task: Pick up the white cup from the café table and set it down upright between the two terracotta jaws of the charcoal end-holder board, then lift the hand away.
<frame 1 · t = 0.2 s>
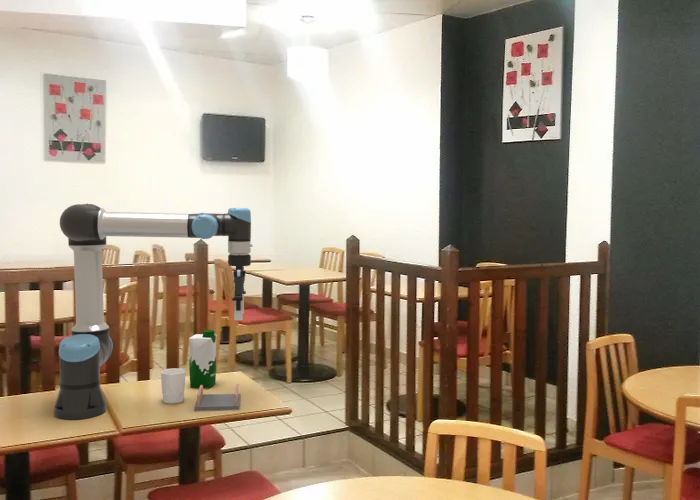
hand: (239, 316, 229), 27 cm above the table, fingers open, 13 cm apart
milk carton: (202, 386, 244), on the table
end holder: (218, 403, 223), on the table
white cup: (173, 401, 226), on the table
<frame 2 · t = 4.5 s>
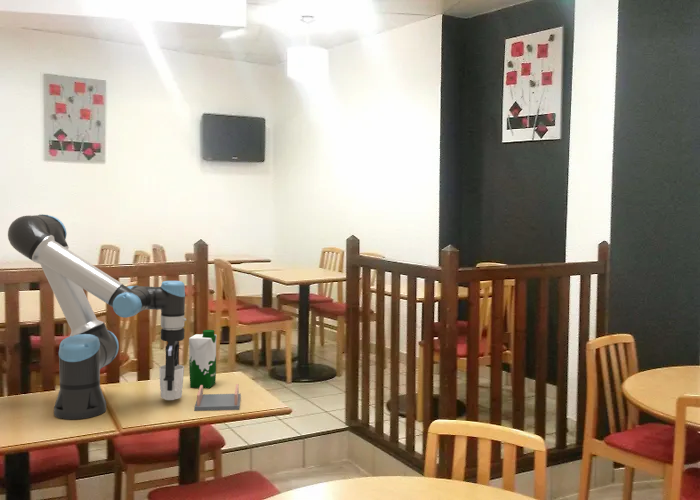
hand: (171, 395, 225), 2 cm above the table, fingers closed on white cup, 7 cm apart
white cup: (171, 397, 225), point 1 cm above the table, touching gripper
everything else where it was.
when the fingers open (2 cm above the table, at t = 8.5 s): white cup stays where it is, resting on end holder.
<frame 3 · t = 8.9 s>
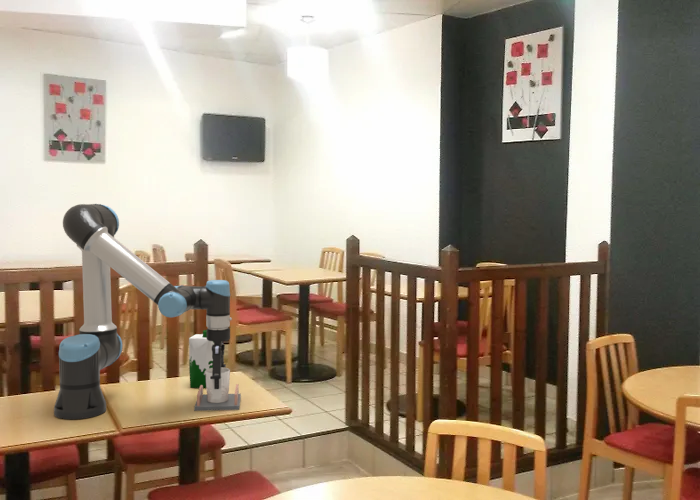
hand: (218, 392, 223), 4 cm above the table, fingers open, 12 cm apart
white cup: (217, 400, 223), point 1 cm above the table, touching end holder
everything else where it was.
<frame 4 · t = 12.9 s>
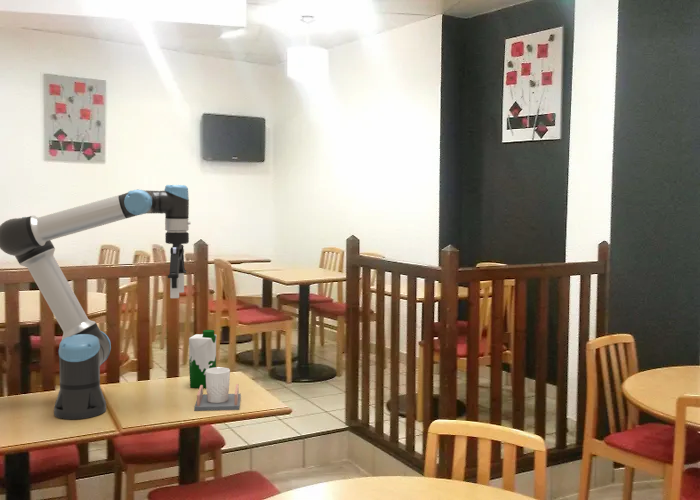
hand: (177, 295, 227), 35 cm above the table, fingers open, 13 cm apart
nothing on the table moved.
at the end: white cup 0.2 cm off-centre on the end holder, point 1.0 cm above the end holder's base; white cup tilted 0°; the gripper is holding nothing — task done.
